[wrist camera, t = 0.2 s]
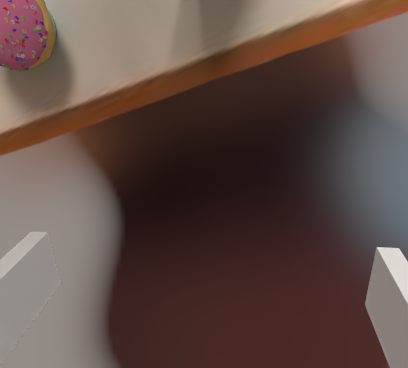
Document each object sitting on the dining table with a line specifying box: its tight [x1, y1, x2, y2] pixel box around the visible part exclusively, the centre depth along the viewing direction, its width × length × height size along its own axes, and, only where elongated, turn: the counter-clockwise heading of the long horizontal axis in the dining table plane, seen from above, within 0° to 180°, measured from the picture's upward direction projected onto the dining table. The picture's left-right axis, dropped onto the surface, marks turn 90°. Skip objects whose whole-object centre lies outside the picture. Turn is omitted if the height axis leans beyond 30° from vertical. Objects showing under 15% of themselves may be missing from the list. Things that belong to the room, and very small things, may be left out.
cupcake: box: [0, 0, 56, 70], centre depth 33 cm, size 9×8×12 cm
